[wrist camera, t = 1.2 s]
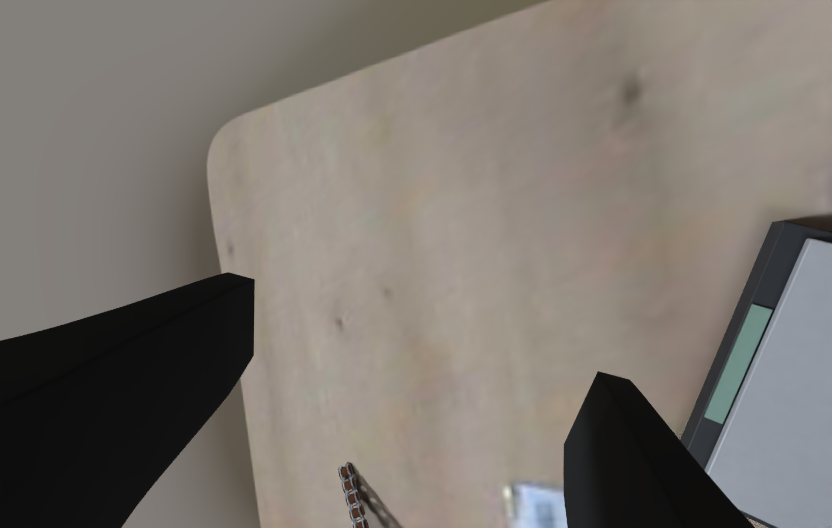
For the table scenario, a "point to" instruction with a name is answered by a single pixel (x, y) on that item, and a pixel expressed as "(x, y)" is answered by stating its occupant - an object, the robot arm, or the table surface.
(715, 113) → the table surface
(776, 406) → the scale
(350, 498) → the wristwatch
